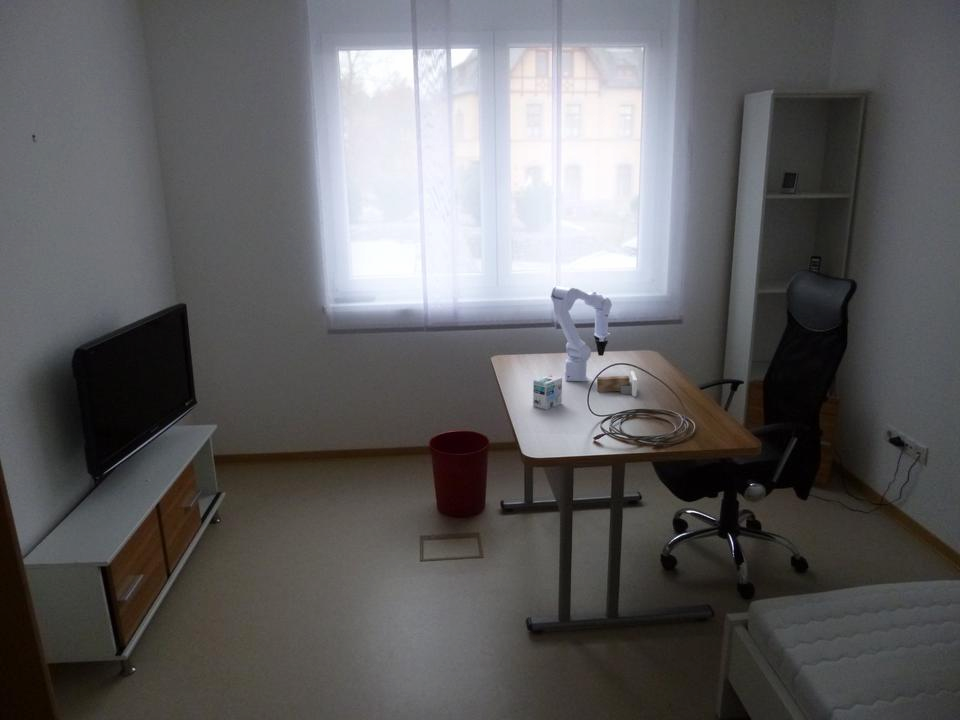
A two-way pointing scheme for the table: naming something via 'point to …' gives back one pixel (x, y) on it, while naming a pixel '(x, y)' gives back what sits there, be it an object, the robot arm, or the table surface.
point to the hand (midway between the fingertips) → (600, 353)
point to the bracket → (630, 385)
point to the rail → (612, 383)
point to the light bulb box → (547, 392)
